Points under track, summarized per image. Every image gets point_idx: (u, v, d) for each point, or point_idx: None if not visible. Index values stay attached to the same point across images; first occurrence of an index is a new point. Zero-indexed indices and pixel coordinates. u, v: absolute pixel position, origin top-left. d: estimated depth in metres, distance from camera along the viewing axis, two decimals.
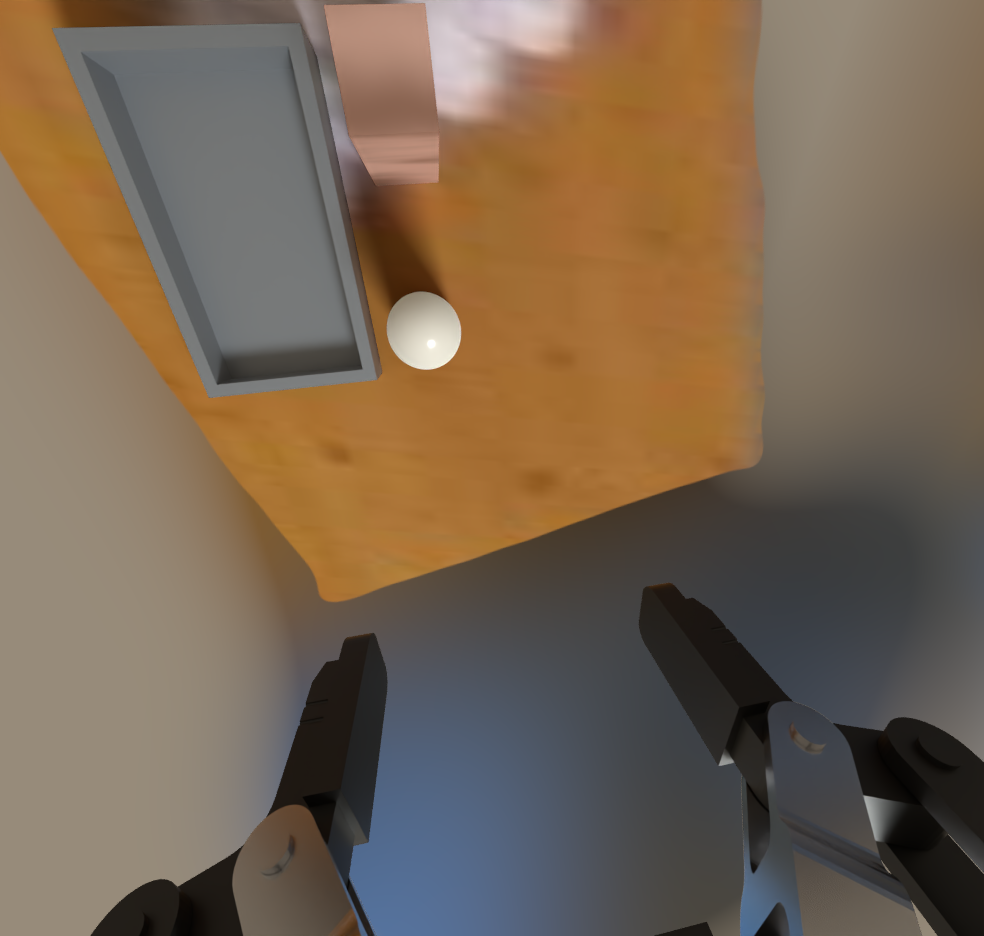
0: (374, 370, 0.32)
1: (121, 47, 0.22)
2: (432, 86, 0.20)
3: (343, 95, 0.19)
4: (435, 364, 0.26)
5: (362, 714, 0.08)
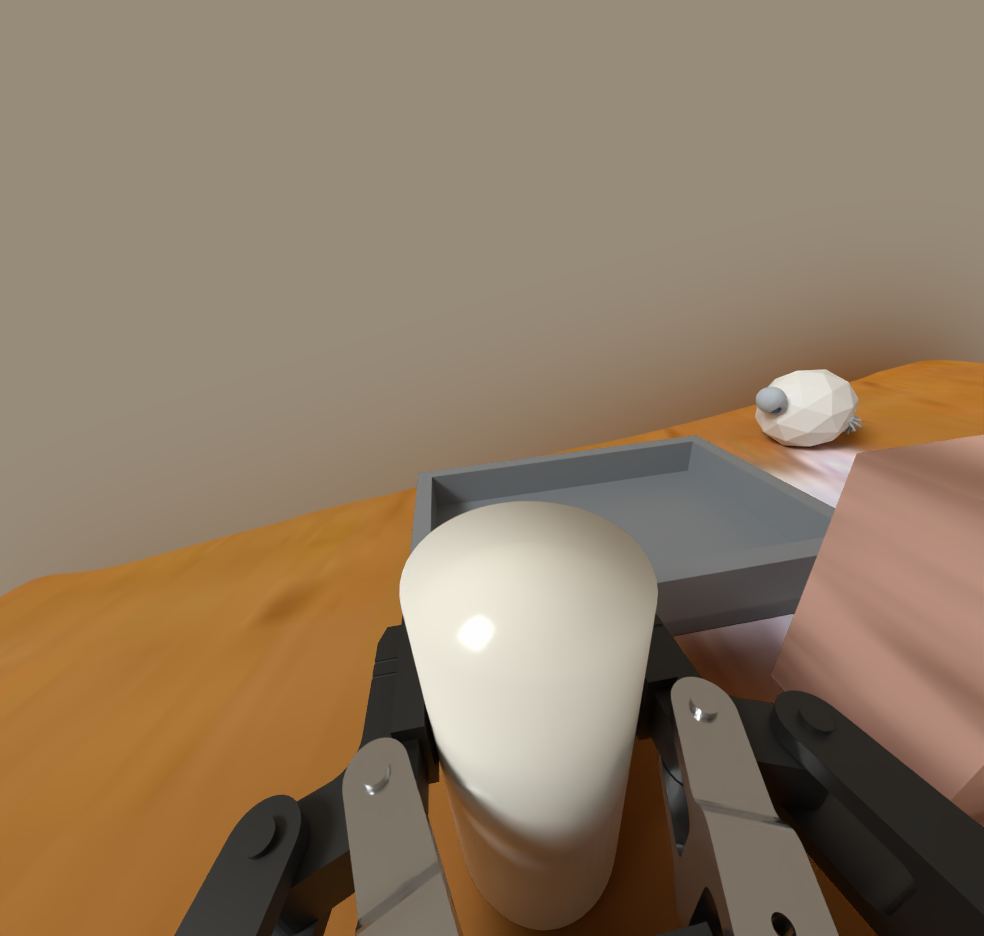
0: None
1: (715, 452, 0.26)
2: None
3: (912, 448, 0.11)
4: (413, 597, 0.07)
5: None
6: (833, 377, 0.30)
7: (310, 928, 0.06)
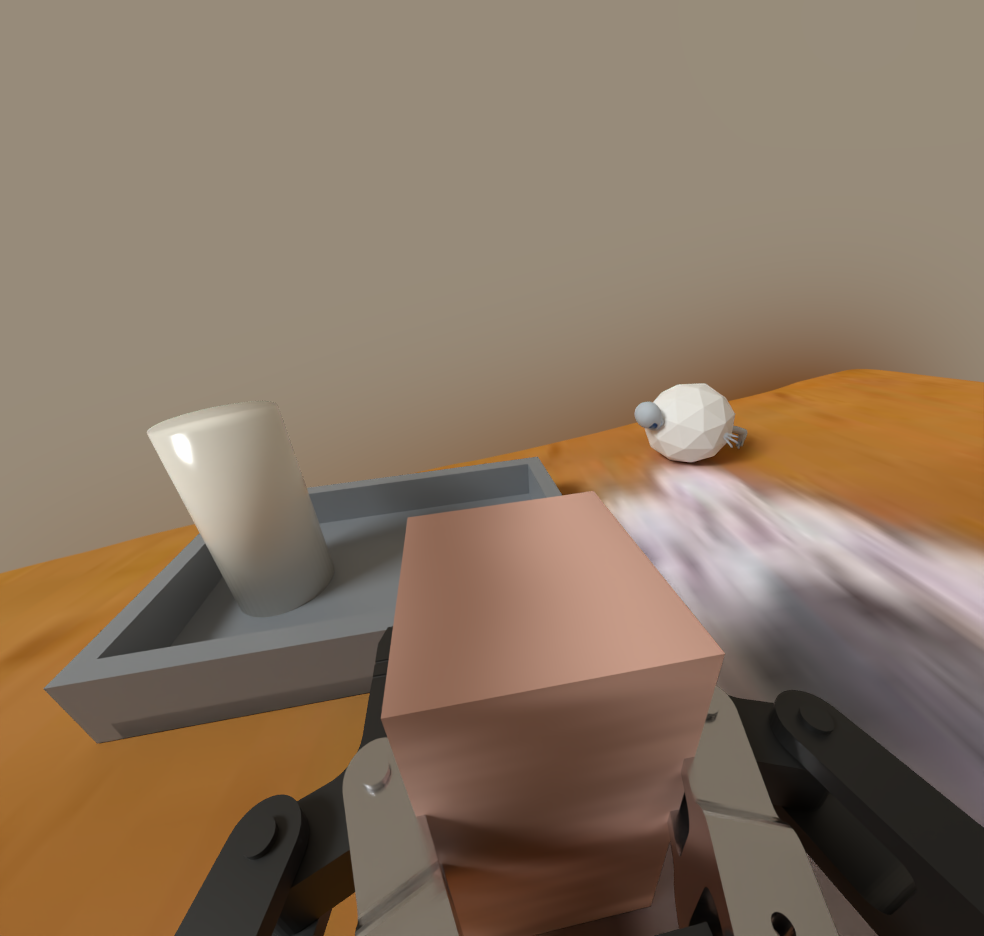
0: (70, 684, 0.13)
1: (537, 477, 0.25)
2: (515, 685, 0.05)
3: (472, 511, 0.09)
4: (159, 425, 0.16)
5: None
6: (708, 392, 0.29)
7: (310, 928, 0.06)
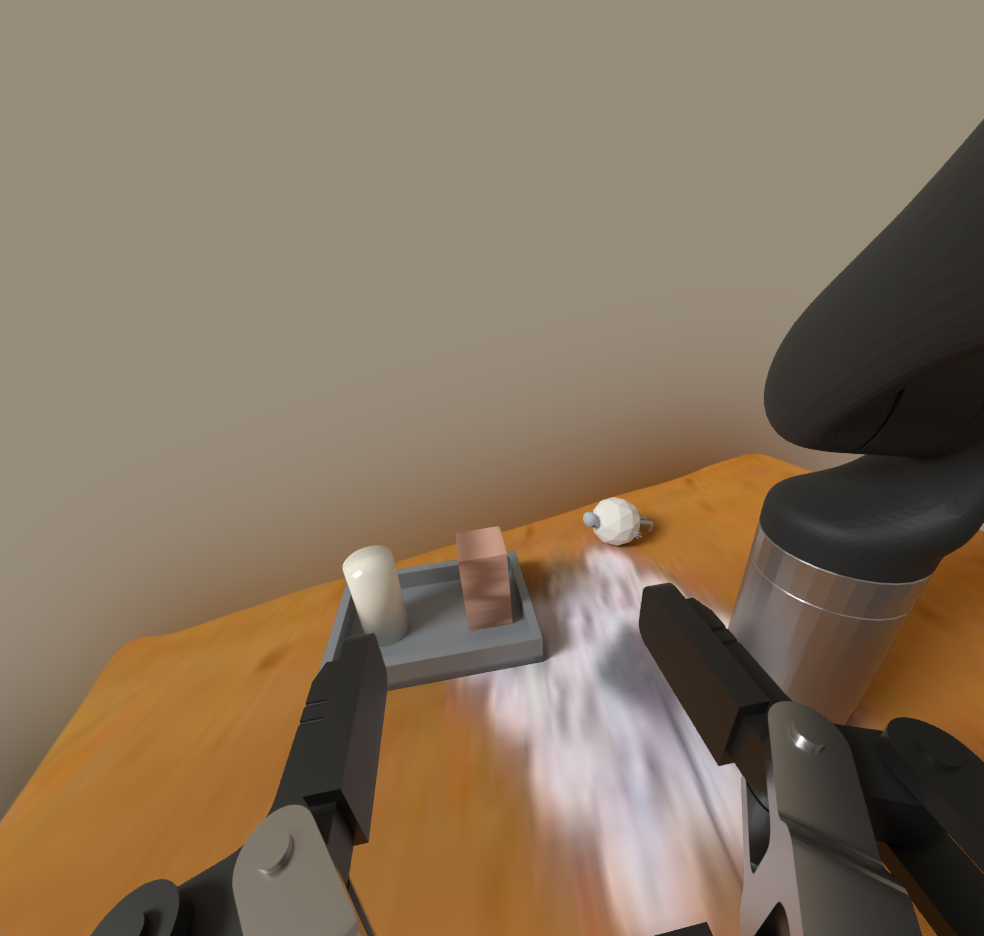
0: None
1: (513, 568, 0.46)
2: (476, 558, 0.37)
3: (470, 531, 0.41)
4: (345, 566, 0.37)
5: (362, 714, 0.08)
6: (624, 508, 0.51)
7: None
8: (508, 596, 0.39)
